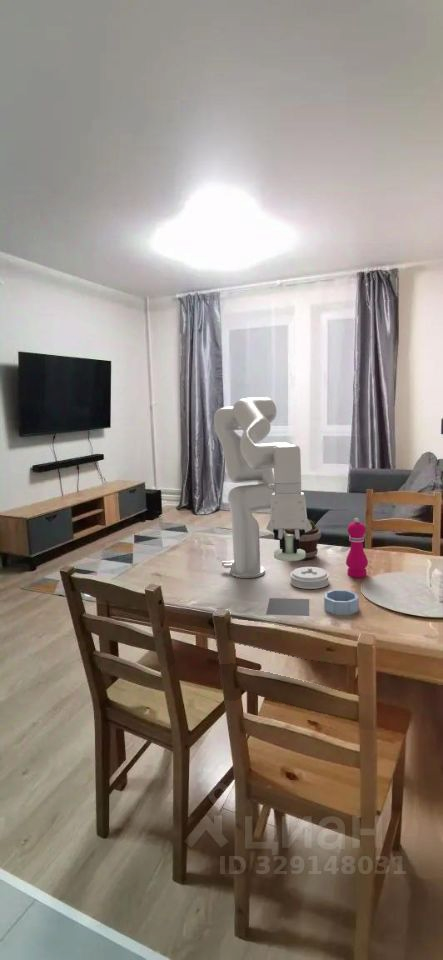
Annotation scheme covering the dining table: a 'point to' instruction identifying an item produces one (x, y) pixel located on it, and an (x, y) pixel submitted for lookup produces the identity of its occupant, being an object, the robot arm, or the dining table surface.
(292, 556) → the cover
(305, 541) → the flowerpot
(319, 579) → the lid
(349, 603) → the bowl
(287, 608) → the mat
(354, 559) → the pepper mill
